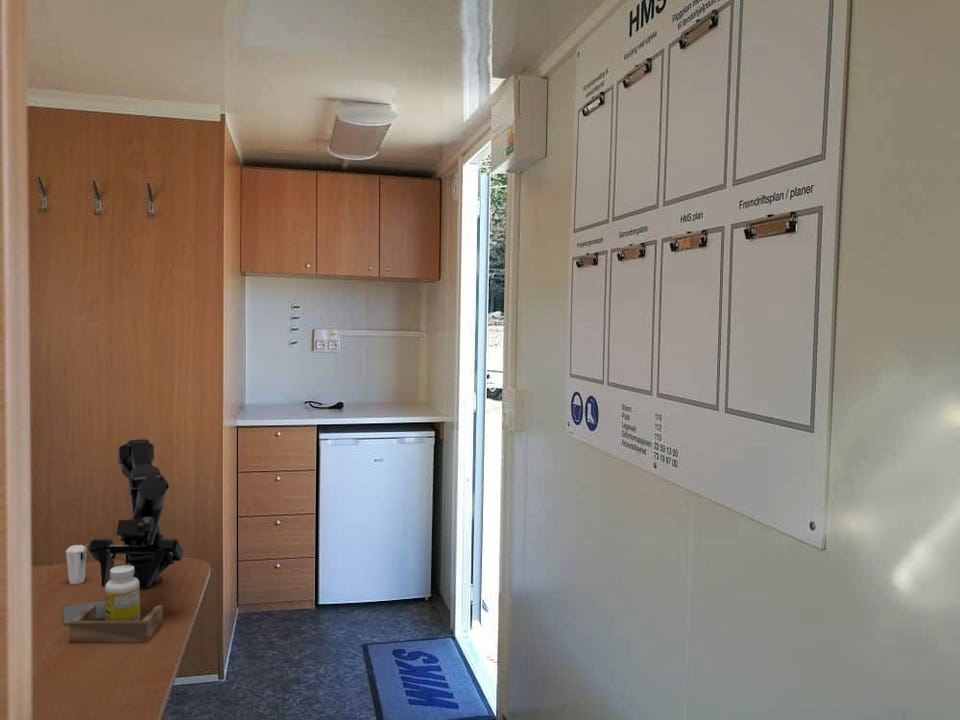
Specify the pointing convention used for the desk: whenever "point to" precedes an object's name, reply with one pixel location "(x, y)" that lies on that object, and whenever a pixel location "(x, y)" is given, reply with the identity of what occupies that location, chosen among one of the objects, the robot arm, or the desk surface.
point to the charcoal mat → (76, 610)
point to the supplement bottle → (122, 595)
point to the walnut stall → (113, 627)
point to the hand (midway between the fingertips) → (125, 586)
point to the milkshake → (76, 563)
